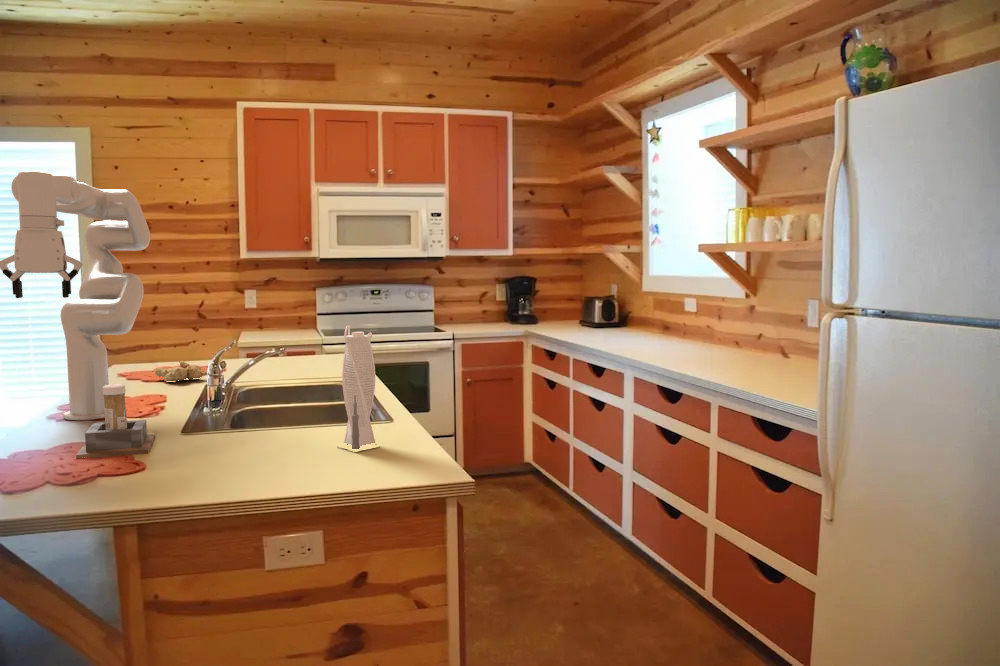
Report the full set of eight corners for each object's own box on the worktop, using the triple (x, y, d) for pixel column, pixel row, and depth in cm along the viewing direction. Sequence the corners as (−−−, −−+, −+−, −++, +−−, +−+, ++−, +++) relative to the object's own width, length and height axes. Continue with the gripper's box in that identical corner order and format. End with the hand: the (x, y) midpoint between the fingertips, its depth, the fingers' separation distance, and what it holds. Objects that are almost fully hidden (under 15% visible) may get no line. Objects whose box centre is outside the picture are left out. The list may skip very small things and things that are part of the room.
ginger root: (212, 378, 257) (205, 356, 256) (164, 393, 250) (156, 371, 248) (204, 374, 271) (198, 353, 269) (158, 388, 263) (151, 366, 262)
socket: (89, 444, 175) (88, 421, 174) (155, 439, 180) (154, 417, 179) (76, 461, 160) (74, 436, 159) (148, 456, 165) (147, 431, 164)
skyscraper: (333, 446, 172) (331, 325, 169) (361, 440, 178) (360, 323, 175) (355, 453, 166) (353, 327, 163) (384, 446, 172) (382, 325, 169)
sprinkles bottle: (129, 444, 169) (126, 385, 168) (107, 447, 167) (103, 387, 165) (126, 439, 173) (123, 382, 171) (104, 442, 170) (101, 384, 169)
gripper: (83, 226, 181) (86, 296, 183) (0, 224, 176) (4, 297, 177) (77, 224, 174) (80, 298, 176) (-10, 223, 169) (-5, 299, 170)
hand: (42, 297), depth 177 cm, fingers open, 9 cm apart
